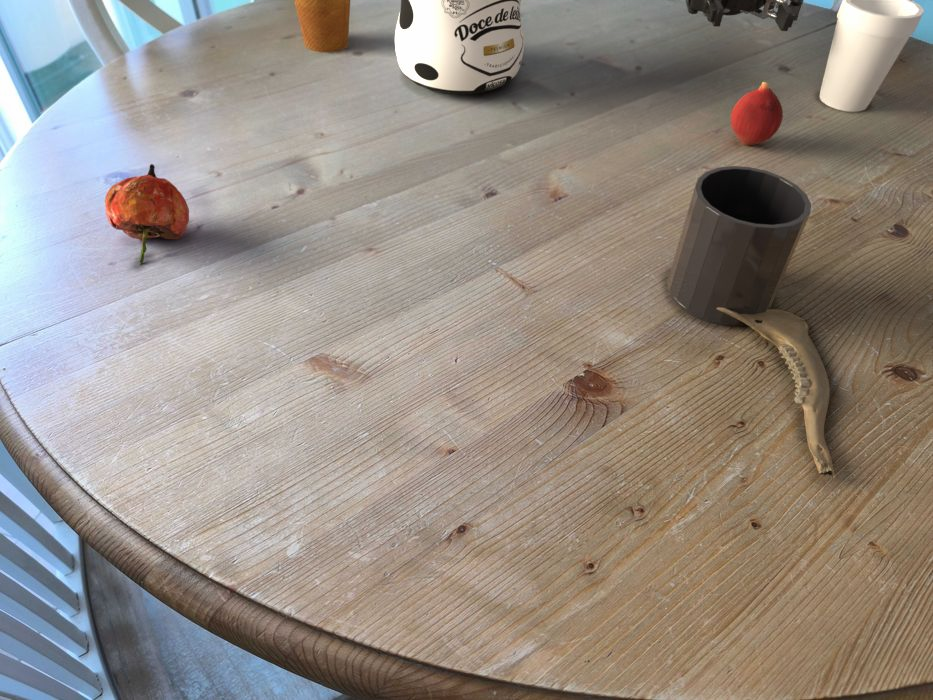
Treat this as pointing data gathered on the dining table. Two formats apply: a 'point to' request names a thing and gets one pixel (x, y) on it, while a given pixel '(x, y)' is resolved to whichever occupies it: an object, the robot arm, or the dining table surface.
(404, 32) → the doce de leite jar
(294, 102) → the dining table surface
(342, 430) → the dining table surface
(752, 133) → the onion
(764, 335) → the jawbone
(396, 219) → the dining table surface
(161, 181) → the orange pumpkin
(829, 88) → the foam cup
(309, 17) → the disposable coffee cup
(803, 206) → the tumbler
